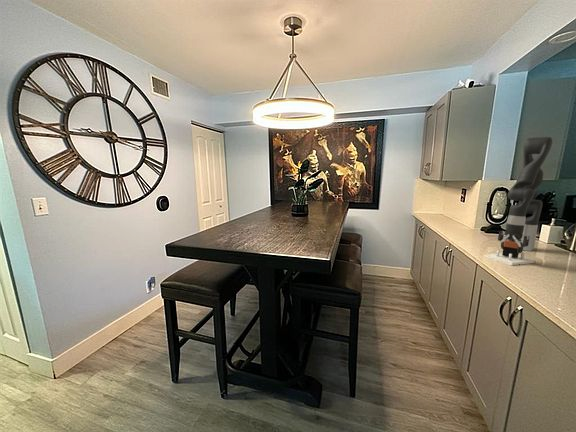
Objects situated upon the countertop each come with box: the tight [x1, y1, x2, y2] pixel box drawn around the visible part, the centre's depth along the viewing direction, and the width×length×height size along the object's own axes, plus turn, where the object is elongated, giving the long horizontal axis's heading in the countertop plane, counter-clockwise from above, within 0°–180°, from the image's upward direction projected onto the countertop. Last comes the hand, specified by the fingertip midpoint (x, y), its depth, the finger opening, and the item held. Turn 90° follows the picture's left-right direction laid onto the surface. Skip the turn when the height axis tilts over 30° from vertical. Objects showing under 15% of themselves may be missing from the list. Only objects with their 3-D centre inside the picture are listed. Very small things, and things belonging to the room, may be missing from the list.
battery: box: [501, 239, 520, 258], centre depth 140 cm, size 4×7×10 cm, turn 46°
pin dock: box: [485, 249, 536, 266], centre depth 141 cm, size 18×14×5 cm
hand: (510, 250), depth 140 cm, fingers closed on battery, 7 cm apart
